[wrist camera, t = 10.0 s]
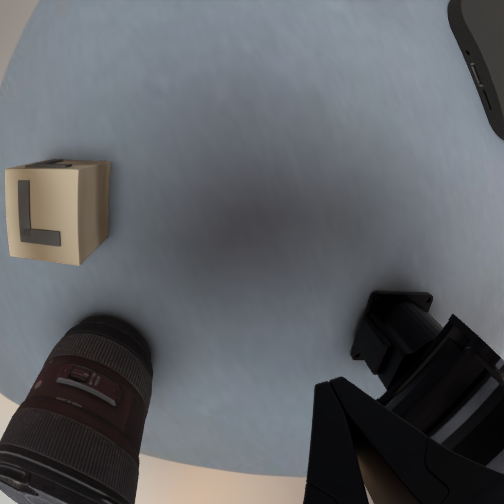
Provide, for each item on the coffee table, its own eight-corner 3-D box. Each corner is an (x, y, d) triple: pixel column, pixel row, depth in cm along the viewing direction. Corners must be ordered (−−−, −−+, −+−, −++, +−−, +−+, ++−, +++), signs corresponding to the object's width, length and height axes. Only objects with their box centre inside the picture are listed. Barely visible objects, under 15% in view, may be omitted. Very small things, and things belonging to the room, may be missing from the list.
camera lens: (49, 326, 21) (-35, 467, 7) (119, 290, 20) (33, 475, 6) (106, 393, 24) (68, 536, 10) (178, 369, 23) (164, 545, 9)
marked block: (111, 159, 17) (77, 167, 13) (108, 236, 19) (78, 266, 14) (47, 158, 17) (3, 167, 12) (47, 230, 18) (9, 256, 13)
